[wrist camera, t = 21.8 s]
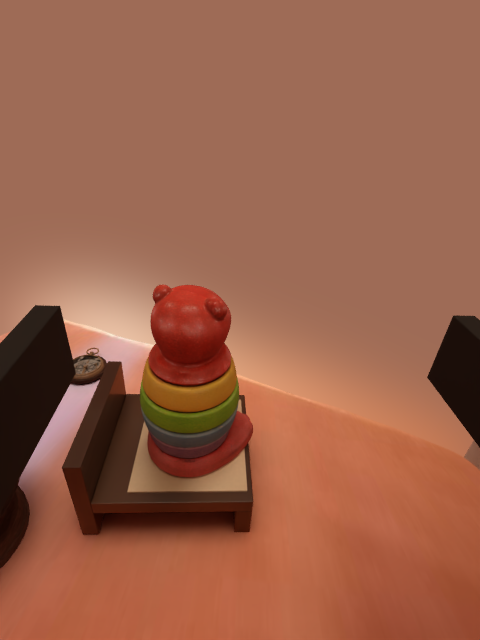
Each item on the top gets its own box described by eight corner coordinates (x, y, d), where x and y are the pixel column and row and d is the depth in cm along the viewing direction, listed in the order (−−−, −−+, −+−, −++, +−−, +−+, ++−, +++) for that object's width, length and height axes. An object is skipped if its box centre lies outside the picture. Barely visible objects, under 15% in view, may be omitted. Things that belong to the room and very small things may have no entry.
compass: (102, 385, 52) (95, 344, 48) (45, 385, 51) (33, 343, 47) (115, 352, 59) (109, 314, 55) (64, 352, 58) (55, 313, 54)
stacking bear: (258, 426, 40) (276, 282, 31) (213, 501, 32) (217, 338, 23) (179, 392, 44) (173, 255, 35) (120, 452, 36) (93, 295, 27)
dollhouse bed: (242, 423, 47) (247, 363, 42) (249, 531, 35) (257, 466, 30) (118, 422, 46) (108, 361, 41) (82, 534, 34) (61, 467, 29)
